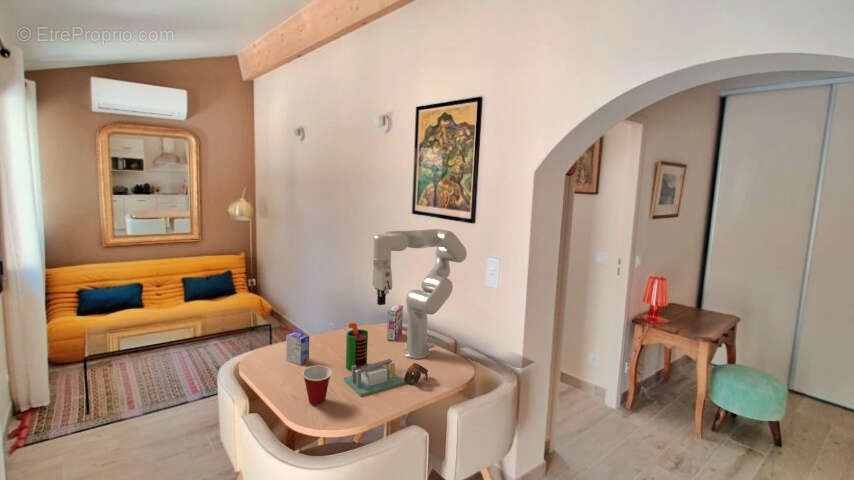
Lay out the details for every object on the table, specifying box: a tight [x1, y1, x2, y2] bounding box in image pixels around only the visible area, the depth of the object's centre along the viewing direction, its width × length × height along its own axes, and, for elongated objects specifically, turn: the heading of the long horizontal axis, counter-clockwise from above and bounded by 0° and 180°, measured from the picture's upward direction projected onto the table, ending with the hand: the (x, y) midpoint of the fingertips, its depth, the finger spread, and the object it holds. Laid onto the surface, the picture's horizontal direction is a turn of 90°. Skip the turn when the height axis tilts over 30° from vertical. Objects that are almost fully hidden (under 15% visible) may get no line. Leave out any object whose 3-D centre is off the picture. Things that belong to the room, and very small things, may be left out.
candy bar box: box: [386, 304, 404, 342], centre depth 226 cm, size 11×5×16 cm, turn 165°
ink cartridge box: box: [285, 328, 310, 366], centre depth 194 cm, size 10×6×14 cm, turn 59°
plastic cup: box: [301, 365, 333, 406], centre depth 159 cm, size 11×11×12 cm
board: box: [343, 357, 406, 397], centre depth 177 cm, size 20×16×8 cm
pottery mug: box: [403, 362, 429, 386], centre depth 178 cm, size 12×10×8 cm
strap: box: [354, 358, 393, 373], centre depth 176 cm, size 16×3×1 cm, turn 125°
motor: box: [345, 321, 369, 372], centre depth 190 cm, size 10×9×20 cm
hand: (381, 304), depth 187 cm, fingers closed
